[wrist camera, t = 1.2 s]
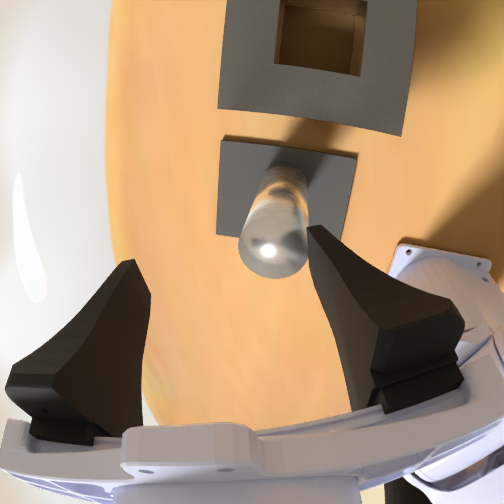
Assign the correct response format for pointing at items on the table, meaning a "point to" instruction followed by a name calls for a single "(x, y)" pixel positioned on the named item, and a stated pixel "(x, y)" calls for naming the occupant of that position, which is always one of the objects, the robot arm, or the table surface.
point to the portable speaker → (404, 493)
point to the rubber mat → (251, 174)
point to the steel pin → (277, 224)
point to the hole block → (314, 80)
